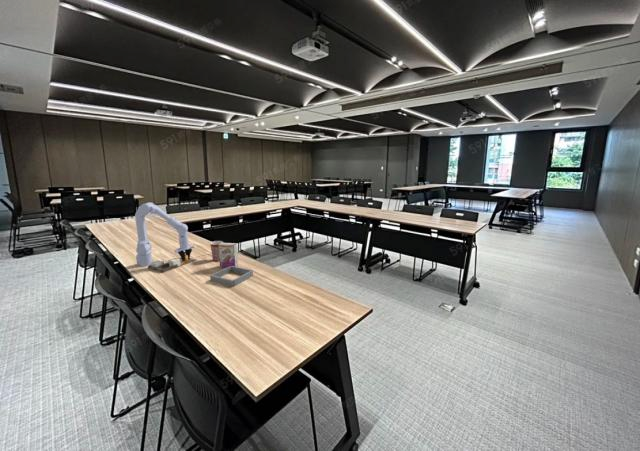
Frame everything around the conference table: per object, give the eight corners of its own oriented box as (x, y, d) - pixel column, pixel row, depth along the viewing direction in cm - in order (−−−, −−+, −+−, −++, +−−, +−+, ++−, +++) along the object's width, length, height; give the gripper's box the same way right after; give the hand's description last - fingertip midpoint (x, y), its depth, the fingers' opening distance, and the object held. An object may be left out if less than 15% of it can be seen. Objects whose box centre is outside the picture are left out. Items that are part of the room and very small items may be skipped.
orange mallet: (169, 266, 184) (168, 259, 183) (185, 260, 195) (184, 254, 194) (174, 267, 182) (173, 260, 181) (190, 261, 193) (189, 255, 192)
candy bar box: (219, 267, 185) (217, 244, 182) (222, 264, 190) (221, 242, 186) (235, 268, 184) (233, 245, 181) (238, 265, 189) (236, 243, 185)
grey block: (151, 268, 180) (150, 262, 179) (158, 266, 184) (157, 260, 183) (156, 269, 178) (155, 264, 177) (163, 267, 182) (162, 261, 181)
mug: (215, 263, 193) (214, 245, 190) (209, 260, 199) (207, 242, 196) (231, 258, 203) (230, 241, 200) (224, 256, 208) (223, 239, 205)
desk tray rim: (209, 281, 164) (209, 275, 163) (231, 270, 180) (231, 265, 179) (233, 286, 156) (233, 281, 155) (253, 275, 172) (253, 270, 172)
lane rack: (148, 270, 180) (147, 265, 179) (183, 258, 203) (182, 254, 202) (163, 274, 173) (162, 269, 173) (197, 261, 197) (197, 257, 196)
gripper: (178, 244, 181) (180, 264, 184) (196, 239, 194) (198, 257, 197) (171, 243, 184) (173, 262, 187) (189, 238, 197) (191, 256, 200)
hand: (185, 259), depth 192 cm, fingers closed on orange mallet, 3 cm apart
